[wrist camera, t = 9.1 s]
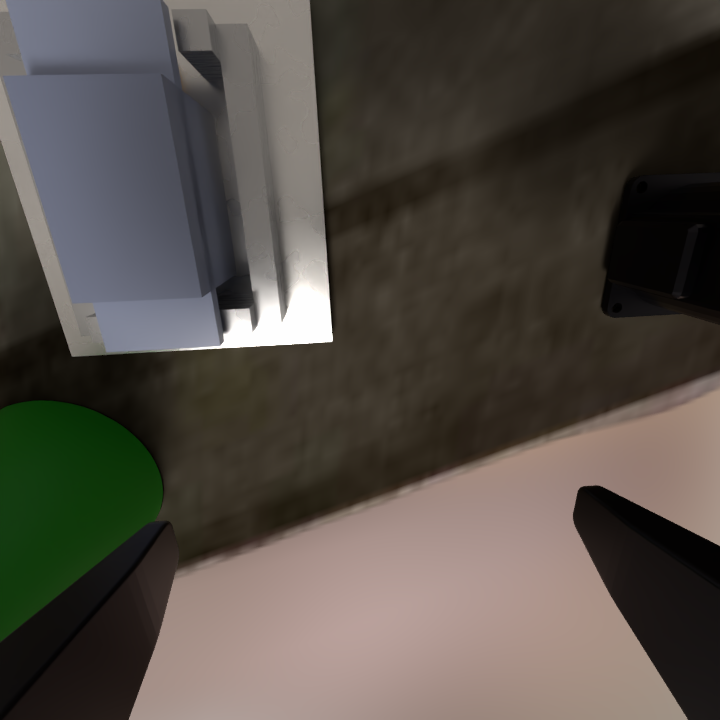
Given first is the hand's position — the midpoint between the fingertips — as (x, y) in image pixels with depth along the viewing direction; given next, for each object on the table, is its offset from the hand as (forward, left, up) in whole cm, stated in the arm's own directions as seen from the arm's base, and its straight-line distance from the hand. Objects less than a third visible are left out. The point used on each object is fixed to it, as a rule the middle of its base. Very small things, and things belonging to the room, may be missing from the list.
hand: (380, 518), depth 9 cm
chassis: (+7, -7, -12) cm, 16 cm away
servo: (+7, -7, -11) cm, 15 cm away
